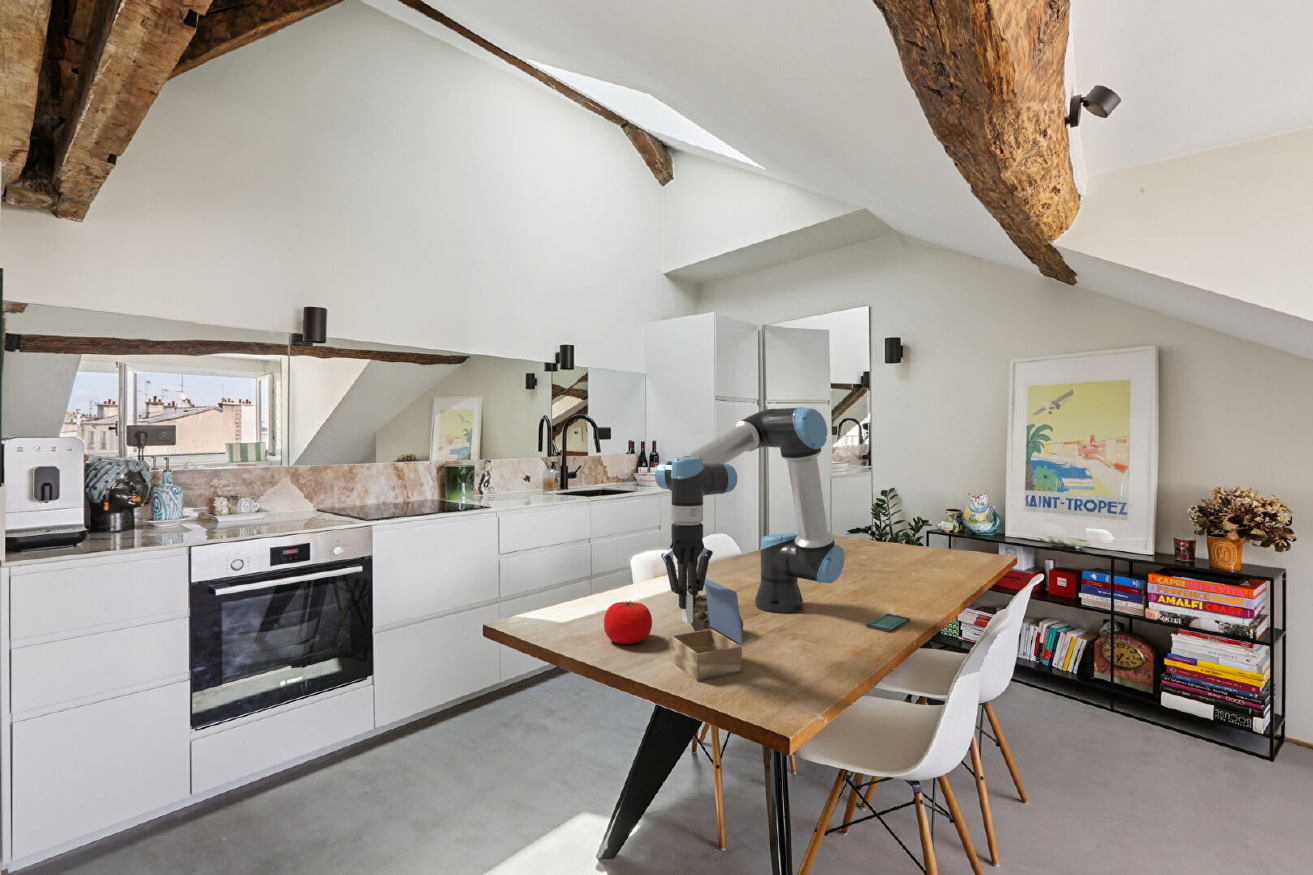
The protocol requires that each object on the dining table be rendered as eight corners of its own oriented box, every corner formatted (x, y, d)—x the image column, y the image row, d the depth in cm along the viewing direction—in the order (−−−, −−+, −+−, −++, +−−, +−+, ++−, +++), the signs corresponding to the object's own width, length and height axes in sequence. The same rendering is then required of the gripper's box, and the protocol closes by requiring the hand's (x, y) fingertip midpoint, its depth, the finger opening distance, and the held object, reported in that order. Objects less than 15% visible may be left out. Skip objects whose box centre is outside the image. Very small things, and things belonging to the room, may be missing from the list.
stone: (693, 602, 157) (727, 575, 167) (674, 607, 164) (708, 580, 174) (723, 656, 156) (755, 626, 166) (702, 659, 163) (734, 629, 173)
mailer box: (669, 659, 148) (669, 635, 148) (711, 651, 153) (711, 628, 153) (697, 681, 135) (697, 654, 135) (741, 672, 140) (741, 646, 140)
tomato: (597, 634, 166) (597, 597, 166) (641, 629, 171) (641, 592, 170) (612, 652, 153) (612, 612, 153) (659, 646, 157) (659, 606, 157)
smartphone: (910, 617, 178) (889, 629, 167) (910, 622, 178) (889, 634, 167) (886, 612, 183) (864, 623, 173) (886, 616, 183) (864, 627, 173)
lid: (698, 580, 151) (705, 578, 152) (704, 627, 152) (711, 625, 153) (729, 594, 138) (736, 591, 139) (735, 646, 139) (743, 643, 140)
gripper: (669, 526, 136) (669, 630, 136) (719, 522, 141) (719, 622, 141) (655, 522, 142) (655, 620, 143) (703, 518, 148) (703, 613, 148)
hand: (687, 621), depth 142 cm, fingers closed
